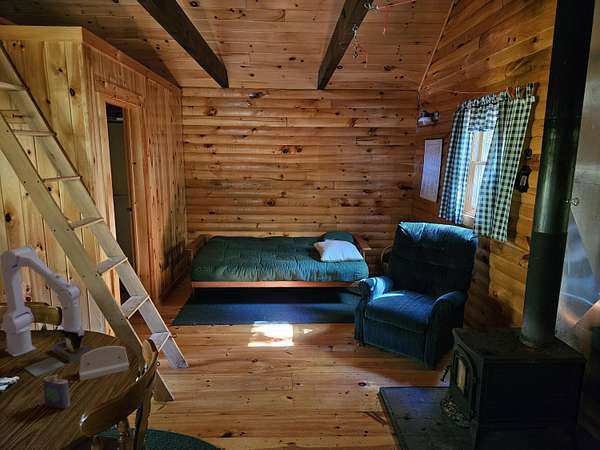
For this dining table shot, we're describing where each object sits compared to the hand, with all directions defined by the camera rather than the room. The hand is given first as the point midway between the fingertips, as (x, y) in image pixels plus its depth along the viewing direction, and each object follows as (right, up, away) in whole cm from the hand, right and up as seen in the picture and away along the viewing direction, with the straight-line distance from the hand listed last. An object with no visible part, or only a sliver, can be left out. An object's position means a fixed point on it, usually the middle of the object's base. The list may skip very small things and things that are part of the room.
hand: (74, 347), depth 154 cm
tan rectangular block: (0, -3, +1) cm, 3 cm away
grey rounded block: (+18, -6, -10) cm, 21 cm away
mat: (-6, -5, -8) cm, 12 cm away
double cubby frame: (-3, -3, +3) cm, 5 cm away
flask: (+13, -9, -31) cm, 34 cm away
